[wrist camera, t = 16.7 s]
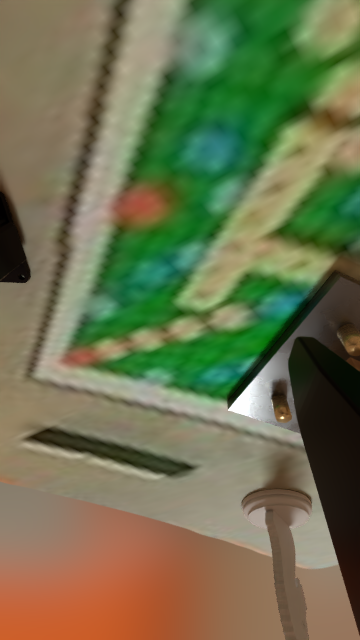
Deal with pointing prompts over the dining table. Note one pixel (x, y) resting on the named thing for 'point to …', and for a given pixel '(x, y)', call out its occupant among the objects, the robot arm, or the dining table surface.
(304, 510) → the chess piece
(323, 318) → the standoff plate
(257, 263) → the dining table surface
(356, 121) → the dining table surface
